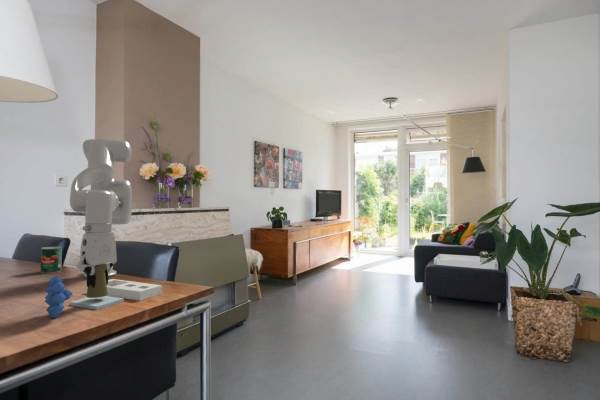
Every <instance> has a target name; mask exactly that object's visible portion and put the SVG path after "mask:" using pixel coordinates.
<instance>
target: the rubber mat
mask: <svg viewBox="0 0 600 400" xmlns="http://www.w3.org/2000/svg"><path fill="white" fill-rule="evenodd" d="M123 302H125V298H119V297H113V296H103V297H98V298H88V297H82V298H80V299H75V300H72V301H69V306H73V307H78V308H79V307H80V308H84V309H89V310H96V311H98V310H101V309H105V308H107V307H111V306H114V305H117V304H120V303H123Z"/></svg>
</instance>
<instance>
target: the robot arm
mask: <svg viewBox="0 0 600 400" xmlns="http://www.w3.org/2000/svg"><path fill="white" fill-rule="evenodd" d="M82 151H83V155H84V156H85V159H86V161H87V167H86V168H84V170H82V171H80V172H79V173H78V174H77V175H76V176H75V178H74V179H73V181H72V183H71V186H70V193H69V194H70V195H69V205H70V208H71V210H72V211H74V212H76V213H84V216H85V217H84V226H82V231H84V233H82V239H81V244H80V253H79V258H80V259H79V261H78V263H77V265H76V268H77V269H78V270H80V271H82V272H84V273H83V277H85V278H86V287H87V288H88V287H89V285H92V288H94V287H95V284H96V275H94V272H95V269H94V267H95V266H96V265H102V264H107V268H106V270H105V277H106V285H107V284H108V280H109V277H113V276H115V275H117V270H114V269H113V267H114V265H115V264H116V263H117V261H118V259H117V245H116V237H115V233H114V232H113V231H112V229H113V228H112V225H113V226H114V225H127V224H129V223H130V222H131V219H132V210H133V209H132V206H133V205H132V202H133V201H132V200H133V196H132V195H133V193H132V192H133V191H132V184H131V182H130V181H129V180H127V179H121V178H114V173H115V162H119V163H129V162H130V161H131V159H132V152H133V151H132V145H131V144H130V142H128V141H127V140H122V139H111V138H96V139H95V138H94V139H93V138H91V139H85V140H84V141H83V142H82ZM88 186H90V189H84V188H86V187H88ZM89 267H91V269H89Z"/></svg>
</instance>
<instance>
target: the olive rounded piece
mask: <svg viewBox="0 0 600 400" xmlns="http://www.w3.org/2000/svg"><path fill="white" fill-rule="evenodd" d="M106 268H107V264H102V265H96V266H95V267H94V269H95V272H94V275H96V284H95V287H94V288H92V285H89V287H87V291H86V297H88V298H98V297H103V296H106V295H108V292H107V285H106V277H105V270H106ZM89 269H91V267H89ZM86 297H85V298H86Z"/></svg>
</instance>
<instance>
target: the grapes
mask: <svg viewBox="0 0 600 400" xmlns="http://www.w3.org/2000/svg"><path fill="white" fill-rule="evenodd" d="M63 282H64V279H63V277H60V276H58V275H56V276H55V275H54V276H53V277H51V278H49V279H48V281H47V283H46V284H47V286H48V287H46V289H45V290H44V291H45V292H46V296H45V297H44V299H45V300H44V303H46V304H47V305H48V307H47V308H46V310H45V311H46V312H47V314H48V315H49V316H50V317H51V318H52V319H53V318H54V319H55V318H58V317H59V316H60V315H61V314H62V312H63V310H64V309H65V306H64V305H63V304H64V303H65V301H67V300H69V299H70V298H71V297H72V296H73V292H72V291H71V290H69V289H65V288H66V285H65V284H64V283H63Z"/></svg>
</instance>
